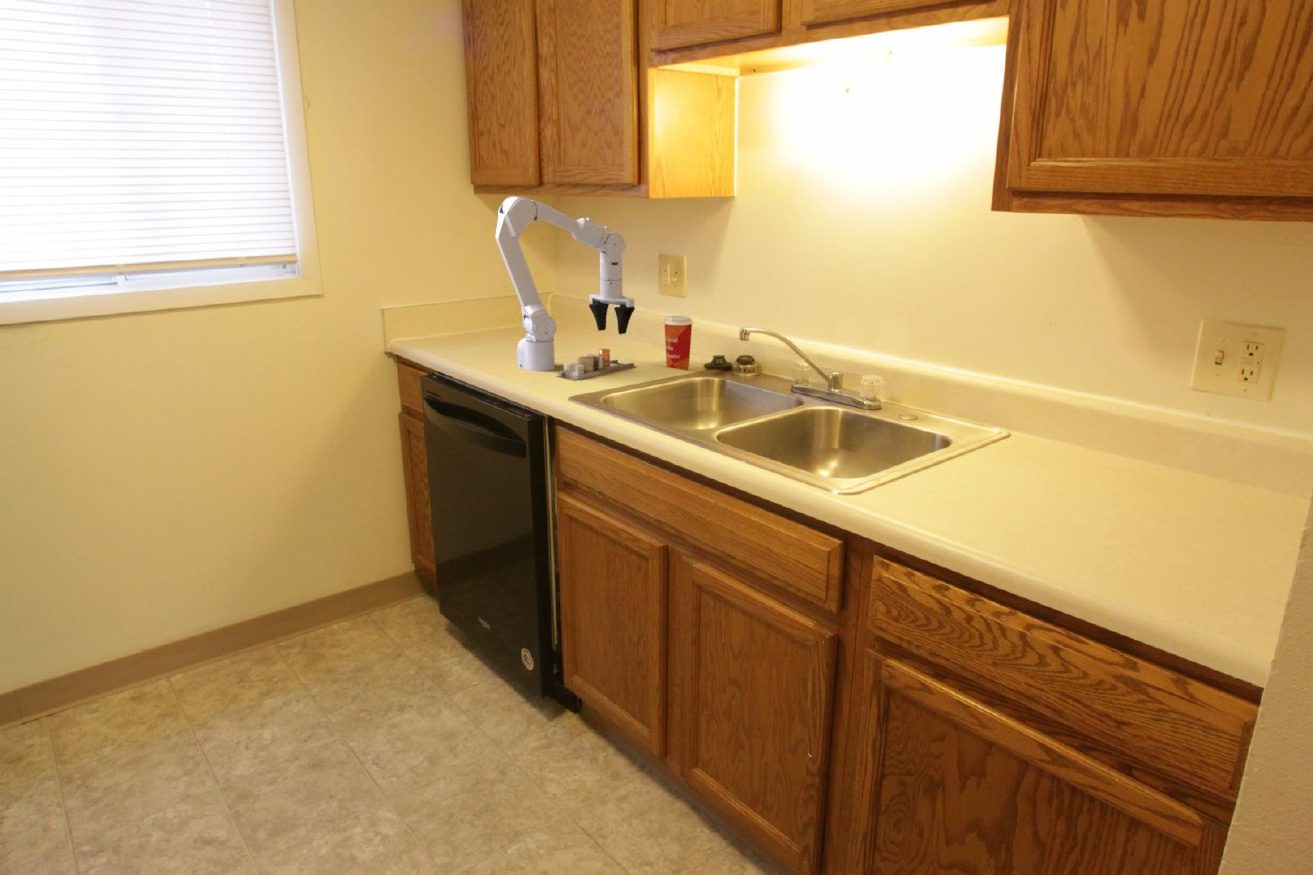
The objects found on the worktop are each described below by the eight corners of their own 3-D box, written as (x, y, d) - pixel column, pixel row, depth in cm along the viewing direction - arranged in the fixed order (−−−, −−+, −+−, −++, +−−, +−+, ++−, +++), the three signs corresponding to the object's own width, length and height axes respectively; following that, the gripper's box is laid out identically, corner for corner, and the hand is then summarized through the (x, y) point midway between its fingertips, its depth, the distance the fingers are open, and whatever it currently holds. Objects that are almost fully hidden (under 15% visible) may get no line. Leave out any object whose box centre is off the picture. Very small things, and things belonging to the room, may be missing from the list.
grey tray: (555, 382, 216) (554, 364, 215) (617, 368, 232) (617, 351, 230) (575, 386, 211) (574, 368, 210) (637, 372, 227) (637, 355, 226)
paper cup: (658, 369, 231) (658, 316, 226) (685, 367, 233) (686, 314, 229) (669, 375, 224) (670, 320, 219) (697, 373, 226) (698, 319, 222)
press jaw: (587, 370, 221) (586, 351, 220) (606, 366, 226) (606, 347, 225) (599, 373, 219) (599, 353, 217) (619, 368, 224) (618, 349, 222)
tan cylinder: (574, 374, 218) (574, 358, 217) (586, 371, 221) (585, 355, 220) (585, 376, 215) (585, 360, 214) (597, 373, 218) (596, 358, 217)
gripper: (642, 280, 224) (642, 333, 228) (602, 276, 233) (603, 326, 237) (623, 283, 219) (623, 336, 223) (583, 278, 228) (584, 330, 232)
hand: (612, 332), depth 230 cm, fingers open, 7 cm apart
